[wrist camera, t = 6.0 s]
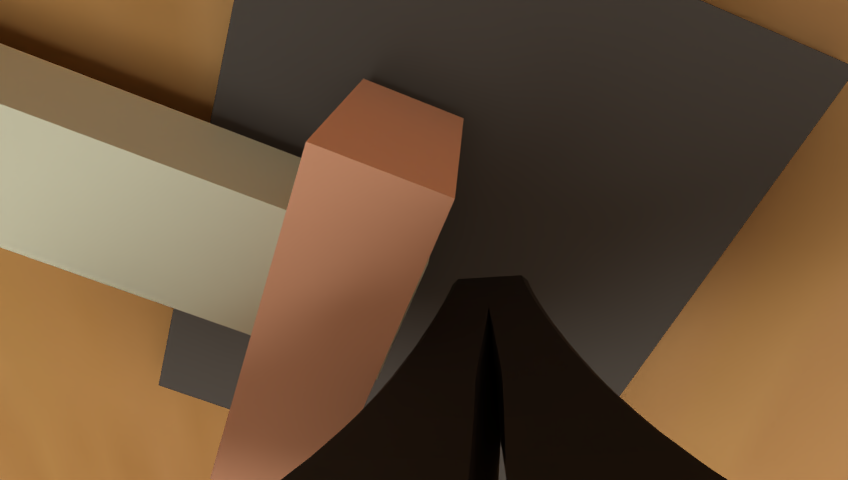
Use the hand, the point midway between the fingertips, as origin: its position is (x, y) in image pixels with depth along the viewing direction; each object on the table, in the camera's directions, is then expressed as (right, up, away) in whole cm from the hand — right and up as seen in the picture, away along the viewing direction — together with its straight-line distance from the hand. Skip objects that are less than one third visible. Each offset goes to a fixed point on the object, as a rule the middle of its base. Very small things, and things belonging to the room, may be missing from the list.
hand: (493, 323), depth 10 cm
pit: (-1, +1, +2) cm, 2 cm away
